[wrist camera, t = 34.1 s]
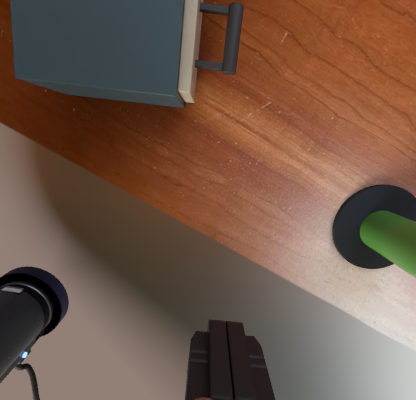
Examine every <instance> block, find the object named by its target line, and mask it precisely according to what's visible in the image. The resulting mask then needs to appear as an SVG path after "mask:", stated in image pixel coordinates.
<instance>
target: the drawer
mask: <svg viewBox="0 0 416 400" xmlns="http://www.w3.org/2000/svg"><path fill="white" fill-rule="evenodd" d="M203 2H204V0H185V1H184V14H183V28H182V41H181V54H180V67H179V80H178V92H179V94H180V95H181V97H182V98H183V100H184V101H185V102H190V103H194V101H195V90H196V79H197V68H202V69H210V70H219V71H222V73H224V74H227V75H234V74H235V73H236V65H237V57H238V49H239V41H240V33H241V25H242V17H243V8H244V6H243V5H242V4H241V3H238V2H234V3H231V4H230V5H229V6H224V5H216V4H207V3H203ZM202 13H211V14H219V15H228V21H227V30H226V39H225V48H224V57H223V63H218V62H209V61H201V60H198V57H199V46H200V35H201V24H202Z"/></svg>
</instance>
